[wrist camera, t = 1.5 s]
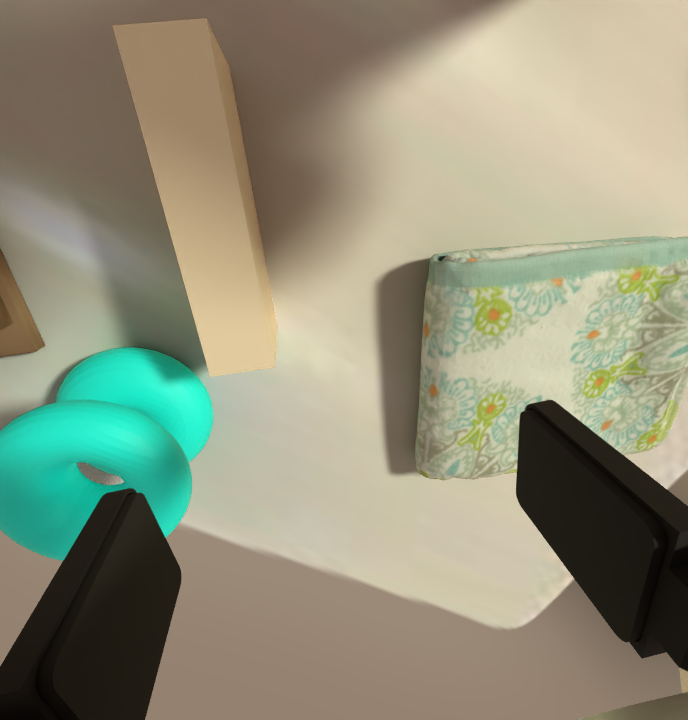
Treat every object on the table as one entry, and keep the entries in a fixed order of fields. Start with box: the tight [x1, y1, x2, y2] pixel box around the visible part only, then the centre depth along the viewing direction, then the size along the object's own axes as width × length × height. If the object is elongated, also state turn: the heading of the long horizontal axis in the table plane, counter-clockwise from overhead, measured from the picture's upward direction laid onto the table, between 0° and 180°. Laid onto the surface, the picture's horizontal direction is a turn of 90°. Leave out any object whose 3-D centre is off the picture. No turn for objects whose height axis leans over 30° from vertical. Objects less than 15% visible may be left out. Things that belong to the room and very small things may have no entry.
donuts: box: [0, 347, 213, 561], centre depth 24 cm, size 10×10×10 cm
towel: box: [415, 237, 688, 480], centre depth 29 cm, size 18×21×5 cm
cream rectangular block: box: [112, 18, 278, 377], centre depth 21 cm, size 15×4×7 cm, turn 6°
